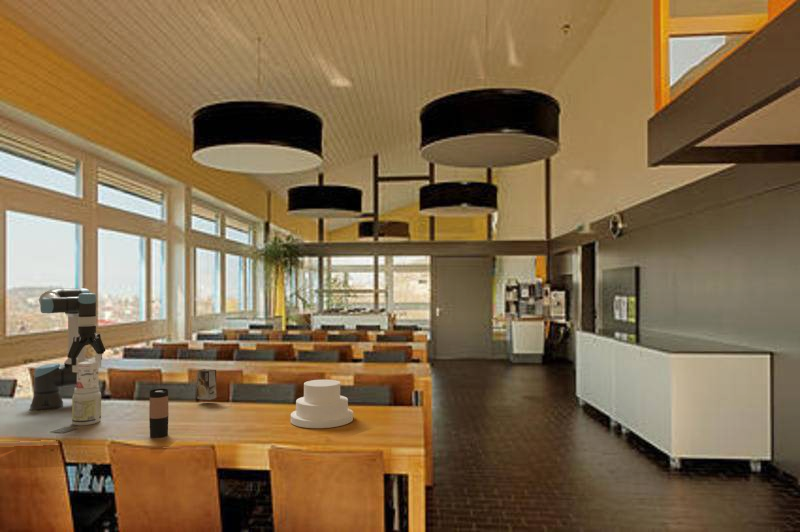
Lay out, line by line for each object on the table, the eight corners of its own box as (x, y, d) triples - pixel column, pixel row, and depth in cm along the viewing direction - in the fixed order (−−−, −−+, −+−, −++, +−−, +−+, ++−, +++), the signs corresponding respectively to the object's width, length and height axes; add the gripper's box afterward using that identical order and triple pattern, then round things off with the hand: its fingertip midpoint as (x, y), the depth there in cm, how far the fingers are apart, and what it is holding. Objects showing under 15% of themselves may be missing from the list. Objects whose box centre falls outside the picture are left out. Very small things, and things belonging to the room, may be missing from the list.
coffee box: (217, 397, 312) (217, 369, 312) (209, 400, 306) (209, 371, 306) (204, 396, 316) (204, 368, 316) (196, 398, 310) (196, 370, 310)
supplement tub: (84, 418, 268) (84, 384, 268) (107, 419, 267) (107, 384, 267) (65, 425, 256) (65, 389, 256) (89, 426, 254) (89, 390, 255)
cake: (322, 432, 244) (321, 392, 244) (277, 421, 262) (277, 384, 262) (365, 417, 268) (365, 381, 268) (322, 408, 286) (322, 374, 286)
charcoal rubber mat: (65, 427, 252) (65, 426, 252) (77, 428, 250) (77, 427, 251) (50, 432, 245) (50, 431, 245) (62, 433, 243) (62, 432, 243)
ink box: (75, 387, 260) (75, 362, 260) (84, 385, 265) (84, 361, 265) (90, 388, 258) (90, 363, 258) (99, 386, 263) (99, 362, 263)
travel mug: (153, 433, 242) (153, 388, 242) (170, 433, 242) (170, 388, 243) (146, 439, 234) (146, 392, 234) (165, 438, 235) (165, 392, 235)
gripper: (101, 322, 275) (100, 364, 275) (58, 327, 251) (58, 374, 251) (113, 323, 273) (113, 365, 273) (71, 328, 249) (71, 374, 249)
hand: (87, 369), depth 262 cm, fingers open, 13 cm apart
